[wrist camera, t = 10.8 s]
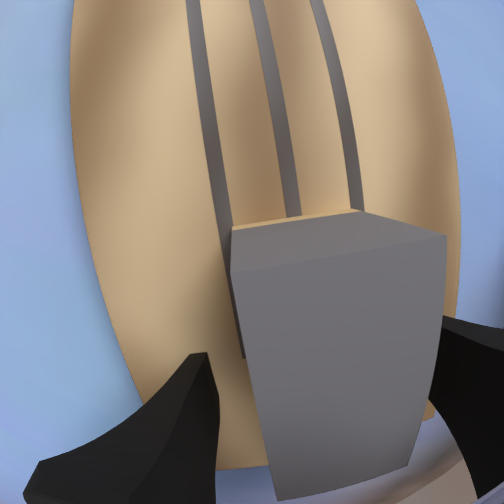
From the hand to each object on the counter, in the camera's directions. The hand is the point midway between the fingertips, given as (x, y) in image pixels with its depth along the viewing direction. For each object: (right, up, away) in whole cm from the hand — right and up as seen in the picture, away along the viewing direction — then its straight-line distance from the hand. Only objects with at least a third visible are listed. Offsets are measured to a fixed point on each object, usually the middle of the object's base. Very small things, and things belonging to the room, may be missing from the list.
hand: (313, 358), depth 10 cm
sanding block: (0, +1, 0) cm, 2 cm away
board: (-1, +6, +1) cm, 6 cm away
